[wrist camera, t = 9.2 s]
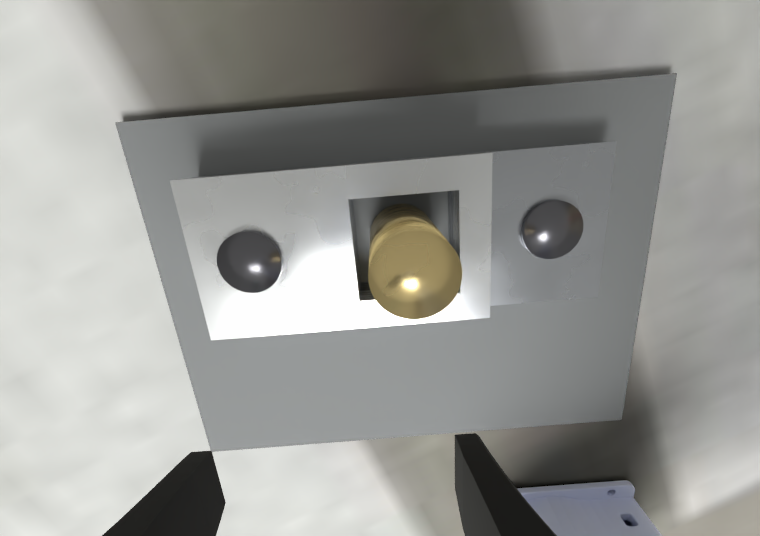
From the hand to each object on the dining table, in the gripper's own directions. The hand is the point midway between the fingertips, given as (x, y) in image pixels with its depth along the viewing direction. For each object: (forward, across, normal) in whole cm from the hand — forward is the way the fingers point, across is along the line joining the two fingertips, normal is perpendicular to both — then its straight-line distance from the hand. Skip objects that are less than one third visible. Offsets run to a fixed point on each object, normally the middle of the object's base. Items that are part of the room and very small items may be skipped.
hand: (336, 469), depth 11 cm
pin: (+8, -3, -5) cm, 10 cm away
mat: (+9, -3, -2) cm, 10 cm away
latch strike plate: (+9, -3, -5) cm, 11 cm away
